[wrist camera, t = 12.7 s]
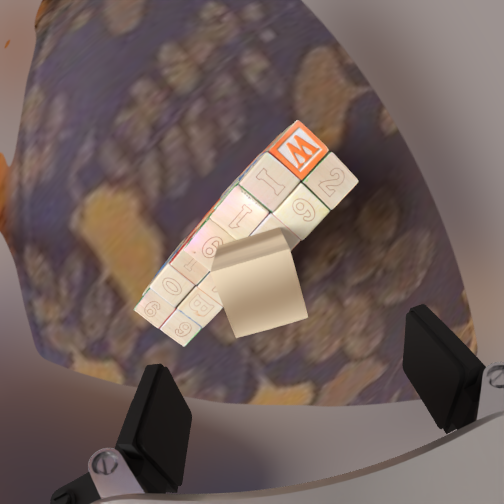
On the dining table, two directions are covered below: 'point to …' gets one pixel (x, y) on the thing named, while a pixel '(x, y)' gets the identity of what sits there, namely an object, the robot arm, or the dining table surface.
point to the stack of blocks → (247, 226)
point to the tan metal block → (258, 283)
